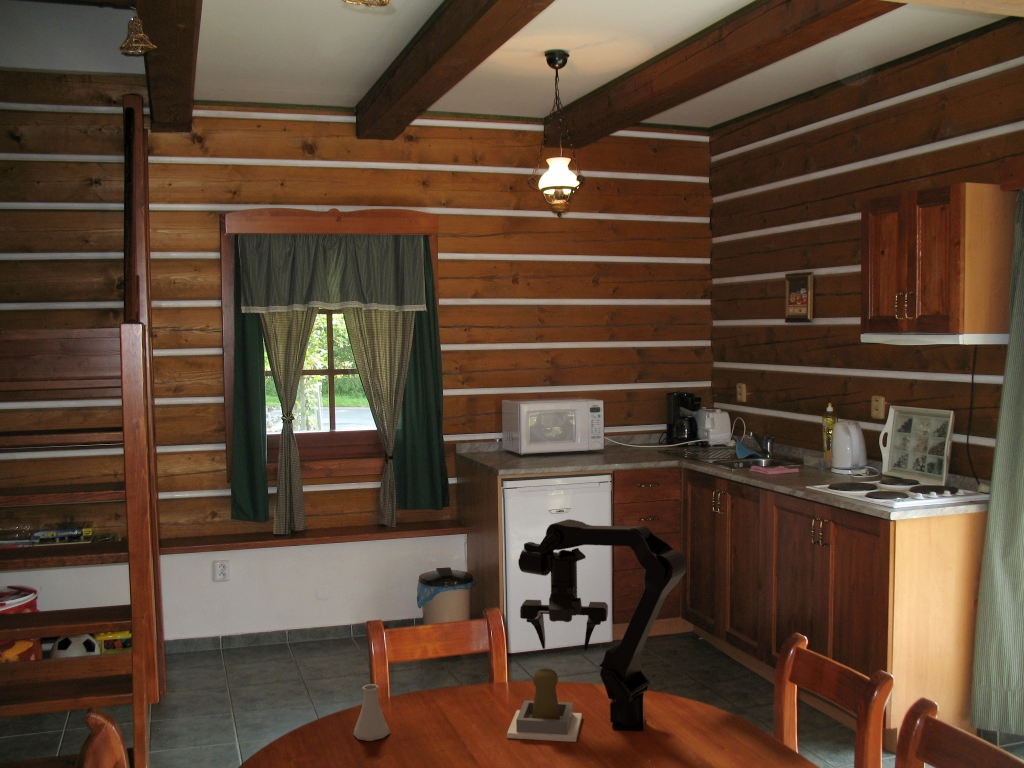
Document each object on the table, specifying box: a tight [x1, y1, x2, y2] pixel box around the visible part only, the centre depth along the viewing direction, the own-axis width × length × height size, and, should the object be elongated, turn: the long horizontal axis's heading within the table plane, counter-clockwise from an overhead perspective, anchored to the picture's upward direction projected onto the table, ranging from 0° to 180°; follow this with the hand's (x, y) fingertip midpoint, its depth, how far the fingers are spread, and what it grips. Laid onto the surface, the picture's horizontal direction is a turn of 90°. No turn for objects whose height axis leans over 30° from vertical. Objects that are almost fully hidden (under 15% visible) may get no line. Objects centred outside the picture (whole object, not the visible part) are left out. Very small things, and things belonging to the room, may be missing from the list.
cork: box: [532, 668, 560, 720], centre depth 192 cm, size 6×6×11 cm
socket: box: [506, 699, 583, 743], centre depth 192 cm, size 14×12×4 cm
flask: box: [352, 683, 391, 742], centre depth 190 cm, size 7×7×10 cm
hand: (564, 649), depth 202 cm, fingers open, 9 cm apart
